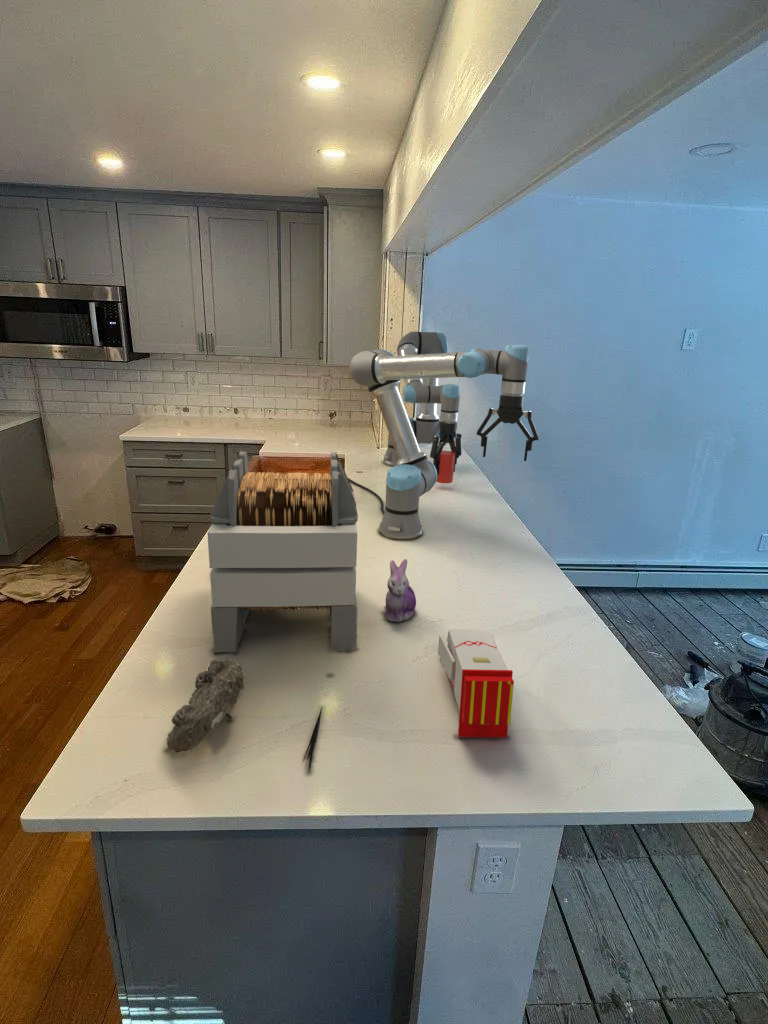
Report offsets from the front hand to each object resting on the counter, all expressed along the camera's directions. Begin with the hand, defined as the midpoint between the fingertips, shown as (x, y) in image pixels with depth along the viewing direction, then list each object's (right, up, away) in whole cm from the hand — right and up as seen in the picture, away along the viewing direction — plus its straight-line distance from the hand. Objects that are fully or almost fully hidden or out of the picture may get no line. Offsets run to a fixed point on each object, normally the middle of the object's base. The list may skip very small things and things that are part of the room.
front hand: (504, 458), depth 191 cm
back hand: (-14, -1, +59) cm, 61 cm away
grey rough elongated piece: (-73, -57, -83) cm, 125 cm away
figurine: (-37, -45, -44) cm, 73 cm away
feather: (-53, -58, -83) cm, 114 cm away
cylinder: (-14, -4, +61) cm, 63 cm away
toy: (-23, -56, -73) cm, 94 cm away
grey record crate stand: (-65, -45, -47) cm, 92 cm away
